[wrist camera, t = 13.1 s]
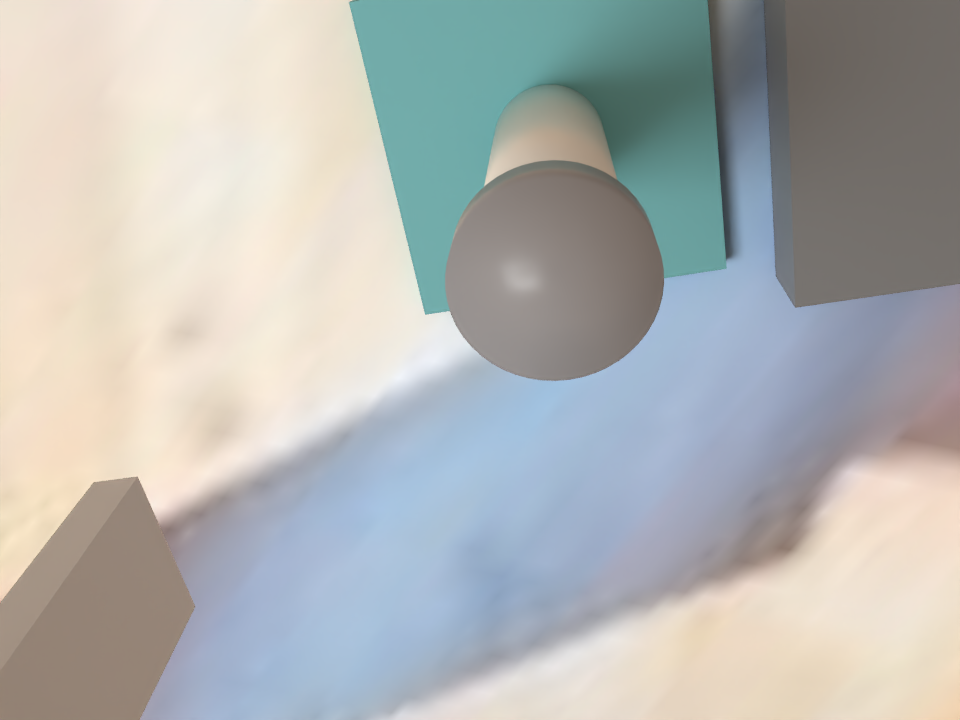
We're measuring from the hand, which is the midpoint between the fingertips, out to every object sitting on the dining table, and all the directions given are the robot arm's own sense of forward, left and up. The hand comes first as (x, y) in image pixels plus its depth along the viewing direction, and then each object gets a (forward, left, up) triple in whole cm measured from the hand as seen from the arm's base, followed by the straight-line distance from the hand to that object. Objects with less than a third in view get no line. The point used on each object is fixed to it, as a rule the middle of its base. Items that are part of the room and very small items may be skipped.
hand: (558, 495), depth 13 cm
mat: (0, 0, -22) cm, 22 cm away
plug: (0, 0, -21) cm, 21 cm away
